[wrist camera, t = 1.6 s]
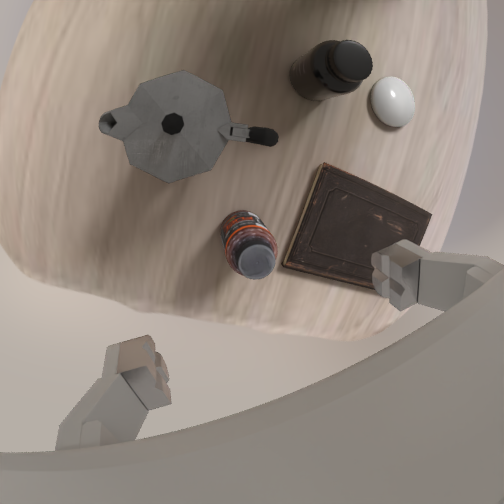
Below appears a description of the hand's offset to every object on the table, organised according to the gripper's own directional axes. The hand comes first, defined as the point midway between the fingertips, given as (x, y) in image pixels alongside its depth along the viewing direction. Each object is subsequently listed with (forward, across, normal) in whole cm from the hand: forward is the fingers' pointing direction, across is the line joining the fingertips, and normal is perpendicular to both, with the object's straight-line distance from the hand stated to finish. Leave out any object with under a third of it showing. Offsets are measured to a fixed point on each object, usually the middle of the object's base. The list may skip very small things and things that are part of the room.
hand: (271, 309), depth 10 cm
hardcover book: (+30, -23, +15) cm, 41 cm away
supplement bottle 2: (+30, -19, -10) cm, 37 cm away
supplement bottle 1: (+31, -5, +8) cm, 33 cm away
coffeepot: (+32, -2, -6) cm, 32 cm away
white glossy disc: (+29, -32, -5) cm, 43 cm away
